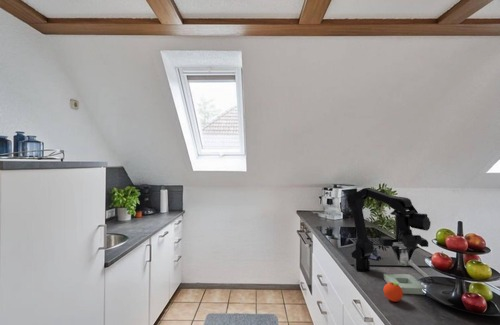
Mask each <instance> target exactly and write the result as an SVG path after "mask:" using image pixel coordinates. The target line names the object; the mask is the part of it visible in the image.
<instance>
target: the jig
mask: <svg viewBox="0 0 500 325" xmlns="http://www.w3.org/2000/svg"><path fill="white" fill-rule="evenodd" d="M383 279H384V281H385V282H386V284H387V283H390V282H392V283H398V284H400V285H399V286H400V287H401V289H402V291H403V295H404V294H405V295H406V294H407V295H408V294H410V295H424V294H423V292H422V289H427V287H425V286H424V284H422V283H421V282H420V281H418V279H416V278H415V277H414V276H412V274H406V273H405V274H403V273H383ZM401 285H402V286H403V287H402V286H401ZM427 290H428V289H427Z"/></svg>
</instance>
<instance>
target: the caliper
mask: <svg viewBox="0 0 500 325" xmlns="http://www.w3.org/2000/svg"><path fill="white" fill-rule="evenodd" d="M408 266H410V267H412V268H414V269H415V270H416V272H418V273H419V274H420V275H422V277H423V278H425V277H429V278H430V275H428V274H427V273H426V272H425V271H424V270H422V269H421V267H419V266H418V265H417V264H415V263H414V262H413V260H412V258H411V259H410V261H409V265H408Z"/></svg>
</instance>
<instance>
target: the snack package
mask: <svg viewBox="0 0 500 325" xmlns="http://www.w3.org/2000/svg"><path fill="white" fill-rule="evenodd" d="M380 254H381V252H380V250H379V249H378V248H377V247H374V249H373V253H372V254H371V256H370V257H368V260H369V259H370V260H373V261H377V260H378V257H381V256H380Z"/></svg>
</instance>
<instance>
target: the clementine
mask: <svg viewBox="0 0 500 325" xmlns="http://www.w3.org/2000/svg"><path fill="white" fill-rule="evenodd" d="M399 285H400V284H398V283H392V282H390V283H387V282H386V284H385V285H384V286H383V294H384V296H385V297H386V298H387V299H388V300H389V301H390V302H391V301H392V302H394V303H395V302H399V301H401V300H402V299H403V296H404V294H403V291H402V289H401V287H400V286H399ZM401 286H402V285H401ZM402 287H403V286H402Z"/></svg>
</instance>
